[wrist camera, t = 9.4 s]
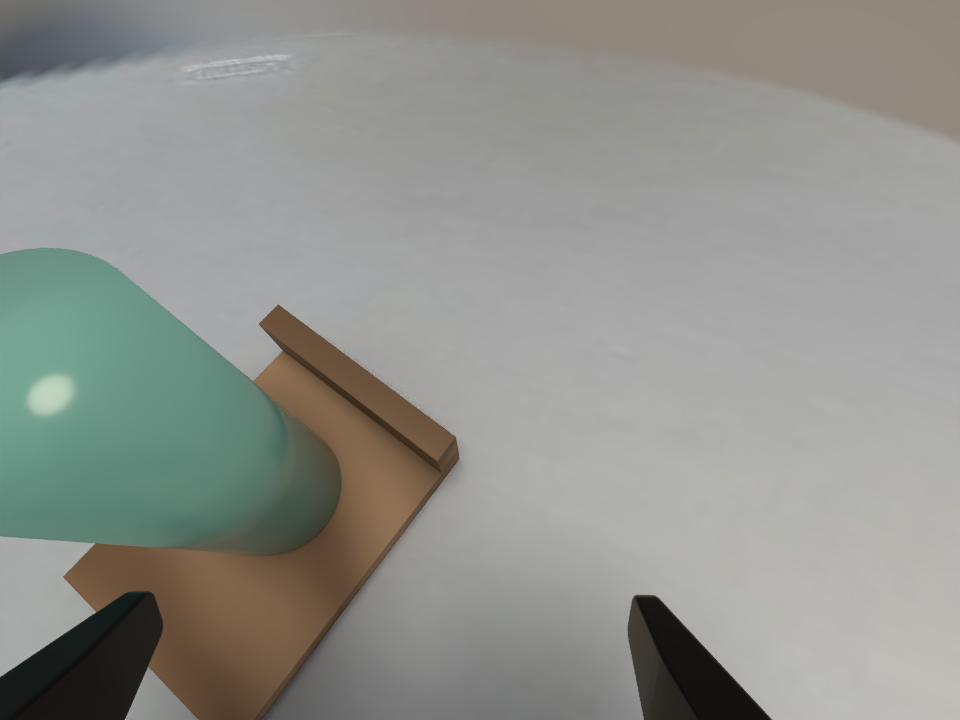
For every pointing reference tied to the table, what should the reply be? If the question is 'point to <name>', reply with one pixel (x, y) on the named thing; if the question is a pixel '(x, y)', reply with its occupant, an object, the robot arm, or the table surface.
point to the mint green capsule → (141, 424)
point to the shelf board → (297, 574)
